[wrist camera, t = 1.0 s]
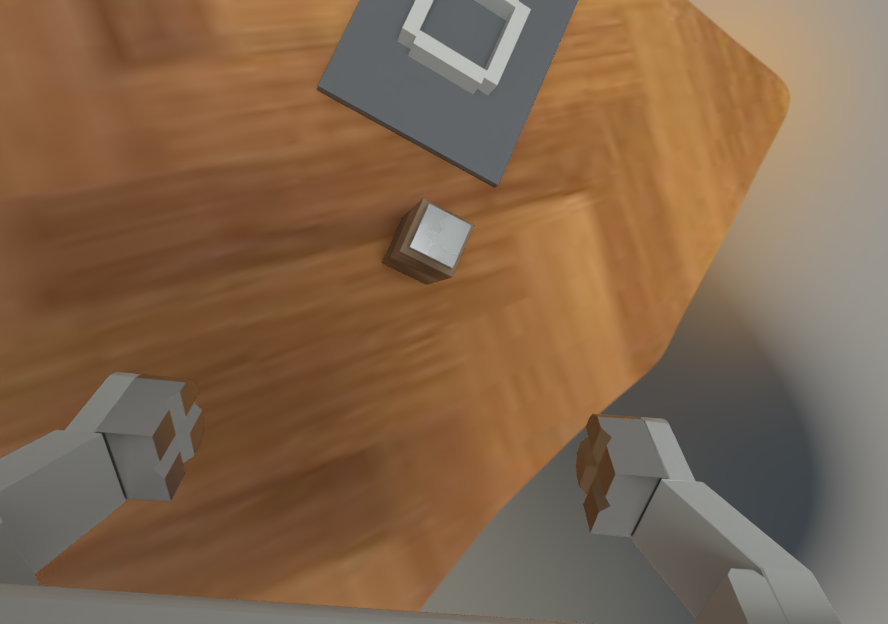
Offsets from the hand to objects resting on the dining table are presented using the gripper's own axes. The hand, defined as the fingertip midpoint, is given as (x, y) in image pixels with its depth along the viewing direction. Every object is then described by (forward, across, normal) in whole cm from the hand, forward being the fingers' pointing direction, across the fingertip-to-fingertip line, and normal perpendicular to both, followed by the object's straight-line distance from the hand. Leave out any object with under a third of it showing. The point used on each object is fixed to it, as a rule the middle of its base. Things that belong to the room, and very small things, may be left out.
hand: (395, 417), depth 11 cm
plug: (+31, 0, +12) cm, 33 cm away
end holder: (+42, -1, -2) cm, 42 cm away
